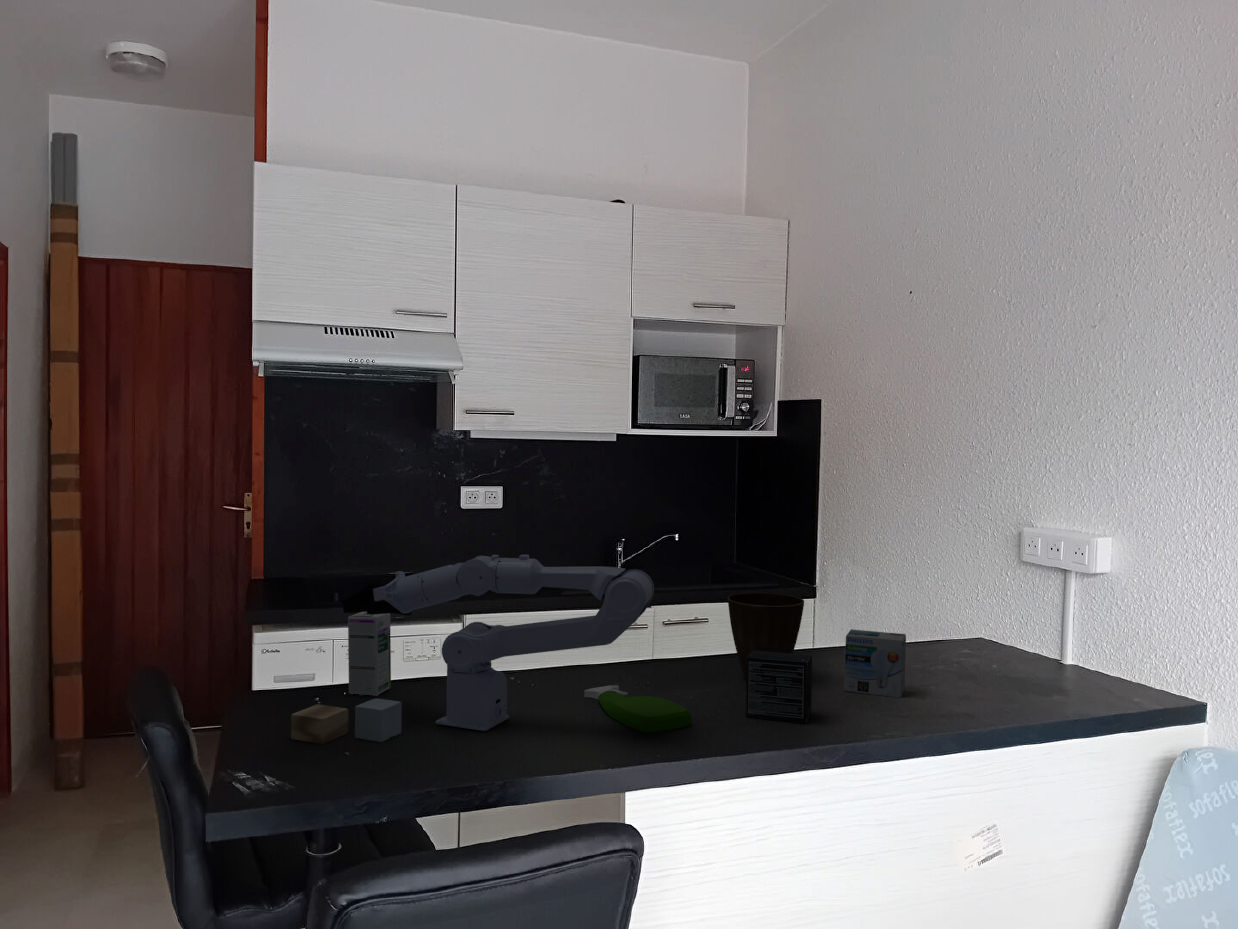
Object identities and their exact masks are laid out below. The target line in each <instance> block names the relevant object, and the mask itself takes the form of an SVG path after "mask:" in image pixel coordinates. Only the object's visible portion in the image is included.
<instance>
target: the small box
mask: <svg viewBox="0 0 1238 929" xmlns="http://www.w3.org/2000/svg"><path fill="white" fill-rule="evenodd" d="M746 662H747V676H746V679H745V680H746V684H745V686H746V689H745V690H746V691H745V693H746V694H745V701H746V702H745V718H748V719H758V720H766V721H767V720H768V721H776V722H777V721H778V722H786V723H787V722H788V723H795V724H796V723H797V724H805V725H806V724H808V722H809V721H810V718H811V717H812V693H813V691H812V684H813V683H812V682H813V681H812V680H813V677H812V675H813V674H812V672H813V655H812V654H802V653H793V654H792V653H780V652H767V651H752V652H751V653H750V654H749V655H748V656H747V657H746Z"/></svg>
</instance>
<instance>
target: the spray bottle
mask: <svg viewBox="0 0 1238 929" xmlns="http://www.w3.org/2000/svg"><path fill="white" fill-rule="evenodd" d="M628 695H629V694H628V692H626V691H621V690H620V686H619V685H615V684H614V685H605V686H598V687H592V688H591V687H590V688H588V689H584V698H592V699H595V700H598V702H599V704H600V707H601V708H602V709H603V711H604V712H605V713H606V714H607V715H608V716H610V718H611V719H613V720H615V721H617V722H618V723H619V724H622V725H624V726H626V727H629V728H631V729H633V730H636V731H638V732H640V733H644V734H654V733H661V732H667V731H672V730H678V729H683V728H687V727H690V725H691V723H692V721H693V720H692V714H691V713H690V712H689V711H688V710H687V709H686V708H685V707H683V706H682V705H679V704H677V703H676V702H674V701H671V700H668V699H665V698H663V697H657V696H648V695H646V696H643V695H642V696H641V695H638V696H637V695H635V696H628Z"/></svg>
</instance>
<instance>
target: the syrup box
mask: <svg viewBox="0 0 1238 929" xmlns="http://www.w3.org/2000/svg"><path fill="white" fill-rule="evenodd" d="M347 626H348V627H347V628H348V631H347V634H348V638H347V642H348V643H347V644H348V645H347V647H348V653H347V655H348V657H347V658H348V659H347V660H348V695H349V694H350V695H353V694H359V695H358V696H363V695H370V696H369V697H378V696H379V695H381V694H382V693H384V692H387V690H390V689H391V688H392V665H391V664H392V663H391V662H392V661H391V659H392V652H391V650H392V649H391V647H392V646H391V645H392V644H391V642H392V641H391V613H387V614H367V612H357V613H356V614H355V613H354V614H352V615H349V616H348V618H347ZM371 695H372V696H371Z"/></svg>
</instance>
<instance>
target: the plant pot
mask: <svg viewBox="0 0 1238 929" xmlns="http://www.w3.org/2000/svg"><path fill="white" fill-rule="evenodd" d="M727 604H728V613H729V620H730V627H731V634H732V638H733V642H734V646H735V651H736V654H737V657H738V658H737V659H738V662H739V665H740V668H741V671H742V675H743V676H744V679H745V680H746V676H747V662H746V657H747V656H748V655H749V654H750V653H751V652H752V651H767V652H780V653H792V654H794V651H795V647H796V644H797V641H798V636H799V632H800V628H801V623H802V619H803V613H804V606H805V600H804V599H803V598H801V597H798V596H795V595H789V594H784V593H783V594H782V593H773V592H742V593H734V594H730V595H728V596H727Z"/></svg>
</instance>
